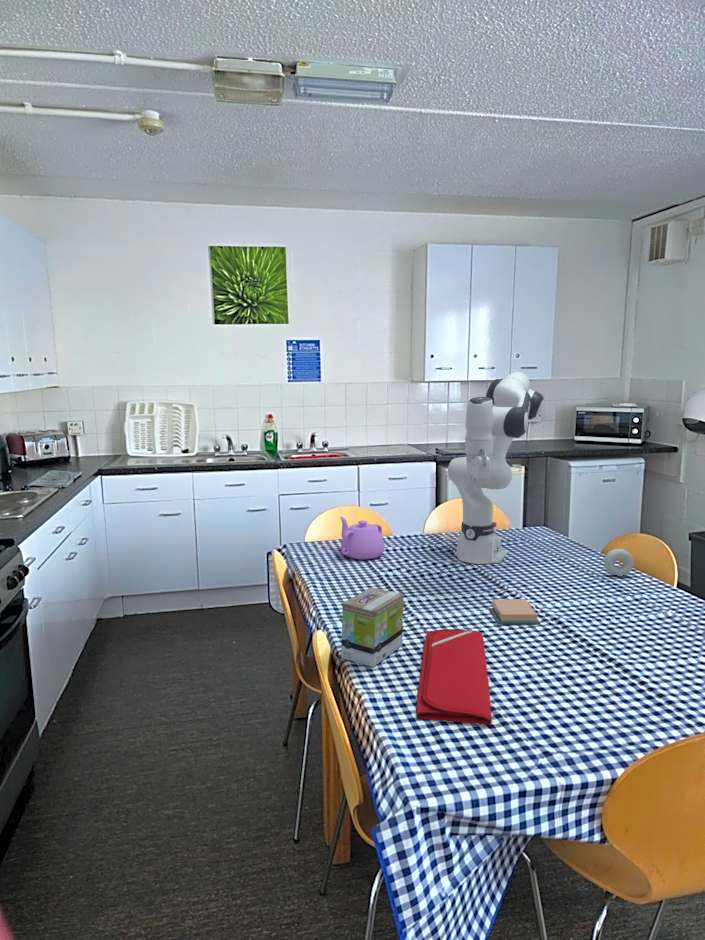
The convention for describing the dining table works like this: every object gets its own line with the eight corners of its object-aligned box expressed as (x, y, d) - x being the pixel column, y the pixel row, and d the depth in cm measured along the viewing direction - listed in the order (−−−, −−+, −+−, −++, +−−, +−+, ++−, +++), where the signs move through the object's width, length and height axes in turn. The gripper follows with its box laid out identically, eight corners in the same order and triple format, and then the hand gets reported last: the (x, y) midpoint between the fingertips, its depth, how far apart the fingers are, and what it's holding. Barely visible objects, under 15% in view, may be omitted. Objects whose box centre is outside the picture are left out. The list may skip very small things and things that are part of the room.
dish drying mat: (414, 721, 131) (415, 704, 130) (424, 639, 171) (424, 626, 170) (492, 728, 128) (492, 711, 128) (483, 643, 168) (484, 630, 168)
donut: (604, 577, 220) (606, 549, 218) (601, 574, 223) (603, 547, 221) (634, 578, 219) (636, 550, 217) (631, 575, 222) (632, 547, 220)
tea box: (375, 668, 153) (375, 610, 150) (340, 659, 158) (340, 602, 156) (403, 646, 165) (404, 592, 163) (370, 637, 171) (370, 585, 168)
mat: (489, 609, 190) (489, 608, 190) (529, 609, 190) (529, 607, 190) (497, 624, 179) (497, 622, 179) (539, 624, 179) (539, 622, 179)
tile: (492, 599, 190) (501, 614, 179) (525, 599, 190) (536, 614, 179) (492, 606, 191) (501, 622, 179) (525, 606, 191) (536, 622, 179)
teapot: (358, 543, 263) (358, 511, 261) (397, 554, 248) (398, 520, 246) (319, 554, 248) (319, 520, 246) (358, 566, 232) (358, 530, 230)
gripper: (495, 452, 192) (494, 496, 194) (482, 444, 212) (481, 484, 214) (475, 452, 192) (473, 496, 194) (463, 444, 212) (462, 484, 214)
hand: (477, 490), depth 204 cm, fingers closed
